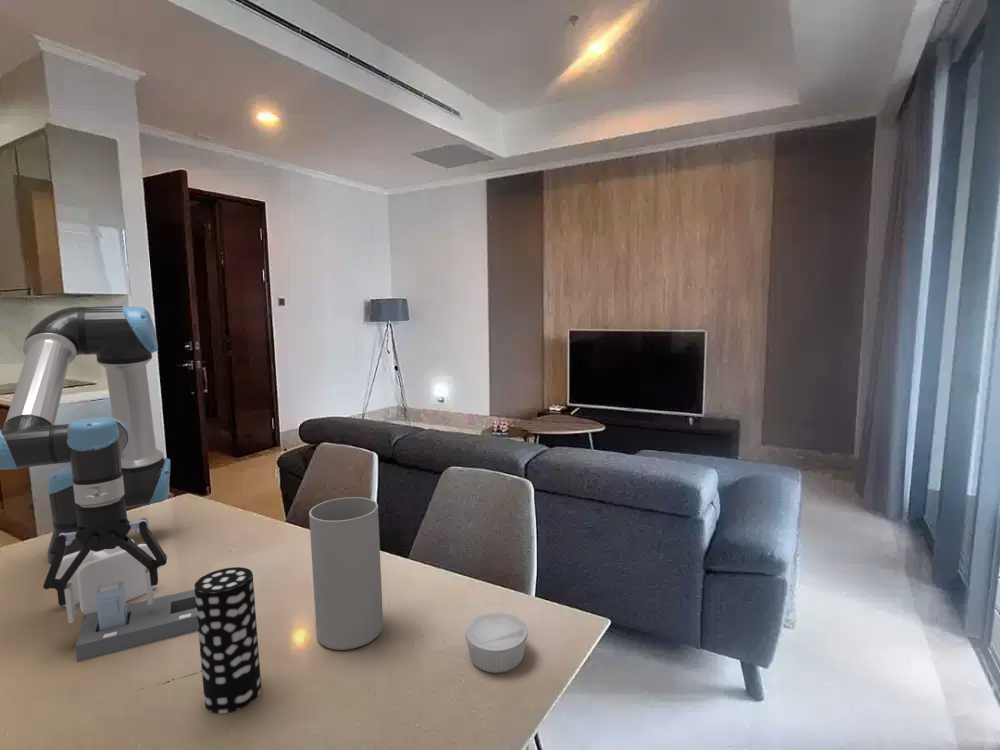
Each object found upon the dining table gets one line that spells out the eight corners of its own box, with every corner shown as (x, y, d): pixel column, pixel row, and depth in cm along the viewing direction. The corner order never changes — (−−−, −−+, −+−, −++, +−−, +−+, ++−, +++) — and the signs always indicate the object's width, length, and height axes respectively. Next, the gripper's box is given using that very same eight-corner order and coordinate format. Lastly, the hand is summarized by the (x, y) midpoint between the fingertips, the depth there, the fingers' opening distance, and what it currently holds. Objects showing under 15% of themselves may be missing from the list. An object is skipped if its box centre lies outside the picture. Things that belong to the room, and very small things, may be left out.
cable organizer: (80, 624, 111) (73, 569, 110) (58, 610, 117) (51, 558, 115) (158, 591, 124) (153, 542, 122) (135, 579, 129) (130, 532, 128)
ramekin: (507, 686, 91) (506, 657, 90) (453, 664, 97) (452, 636, 96) (539, 650, 100) (538, 623, 100) (487, 632, 106) (487, 606, 106)
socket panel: (89, 630, 109) (87, 613, 108) (213, 600, 119) (212, 584, 119) (77, 664, 98) (75, 645, 98) (215, 628, 109) (214, 610, 108)
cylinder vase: (395, 620, 111) (390, 500, 108) (360, 657, 99) (353, 524, 96) (342, 610, 115) (336, 494, 112) (302, 644, 103) (294, 517, 100)
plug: (104, 633, 107) (98, 582, 105) (128, 627, 109) (123, 577, 107) (100, 646, 102) (94, 593, 101) (126, 640, 104) (120, 587, 103)
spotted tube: (218, 679, 94) (208, 568, 91) (268, 676, 94) (260, 565, 92) (195, 715, 85) (184, 594, 83) (250, 711, 86) (241, 591, 84)
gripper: (11, 520, 94) (26, 639, 96) (174, 495, 105) (184, 602, 108) (23, 506, 100) (37, 618, 103) (175, 484, 112) (184, 585, 114)
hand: (112, 610), depth 105 cm, fingers open, 12 cm apart
